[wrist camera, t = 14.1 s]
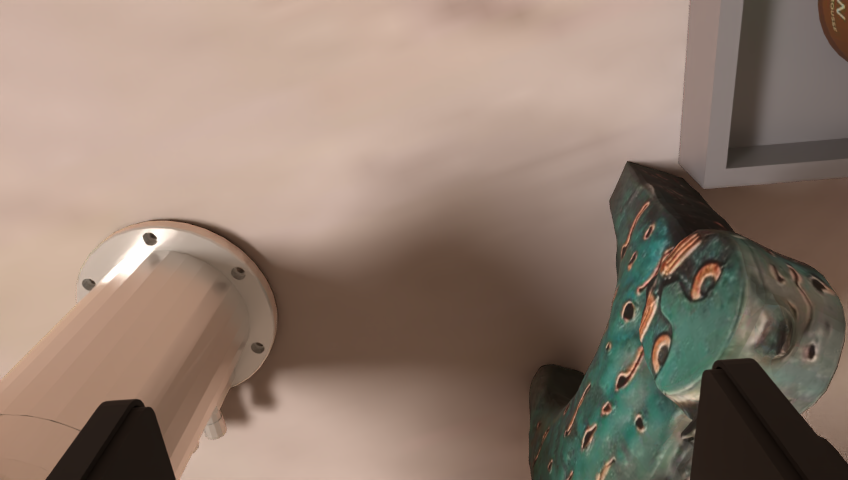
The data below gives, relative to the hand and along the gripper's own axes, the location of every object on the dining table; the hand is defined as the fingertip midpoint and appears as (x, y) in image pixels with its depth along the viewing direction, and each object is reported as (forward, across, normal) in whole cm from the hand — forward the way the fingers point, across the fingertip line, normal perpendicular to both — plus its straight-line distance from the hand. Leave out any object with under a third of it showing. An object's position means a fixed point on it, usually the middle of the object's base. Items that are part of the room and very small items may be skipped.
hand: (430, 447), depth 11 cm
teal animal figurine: (+27, -10, +12) cm, 31 cm away
